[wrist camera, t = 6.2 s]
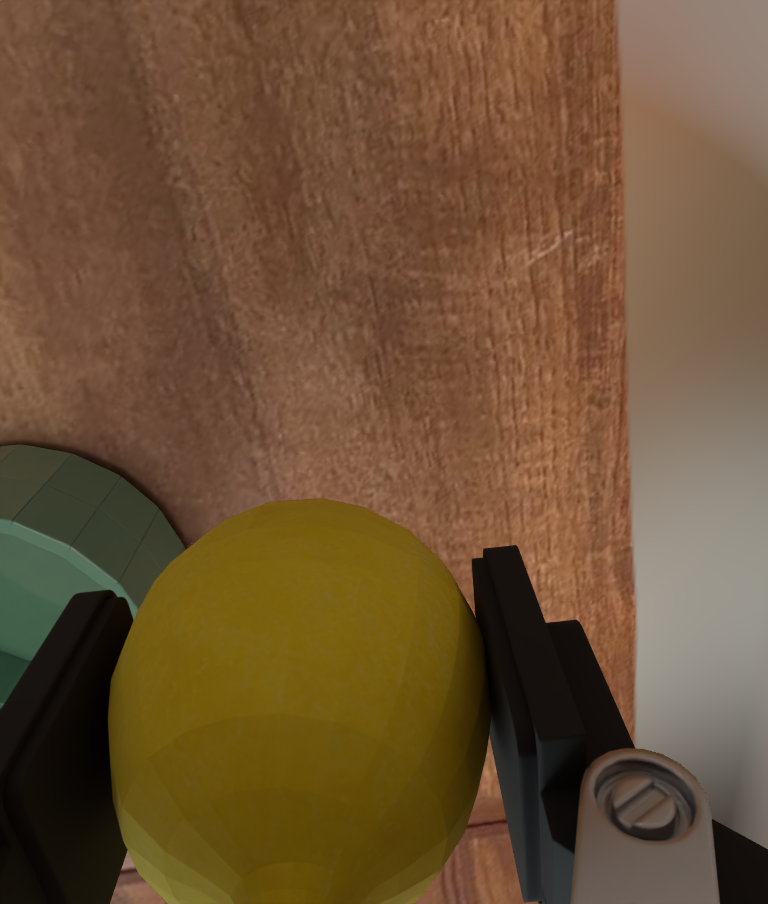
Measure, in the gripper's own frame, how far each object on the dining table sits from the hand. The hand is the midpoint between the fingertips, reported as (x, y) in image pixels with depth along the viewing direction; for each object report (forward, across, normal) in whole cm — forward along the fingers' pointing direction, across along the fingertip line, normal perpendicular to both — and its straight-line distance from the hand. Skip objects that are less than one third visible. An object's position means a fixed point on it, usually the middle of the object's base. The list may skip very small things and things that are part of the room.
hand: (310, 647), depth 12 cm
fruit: (+3, 0, 0) cm, 3 cm away
